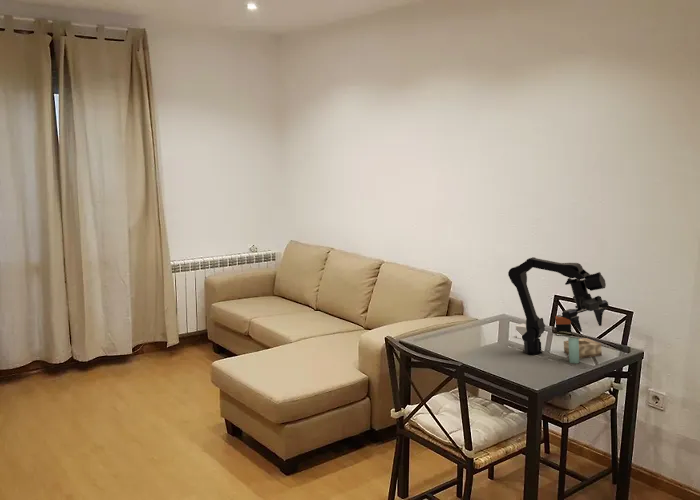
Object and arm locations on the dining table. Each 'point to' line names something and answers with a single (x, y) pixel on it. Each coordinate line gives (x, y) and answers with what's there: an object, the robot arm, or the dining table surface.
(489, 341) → the dining table surface
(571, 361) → the peg
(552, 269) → the robot arm
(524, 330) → the light grey cone
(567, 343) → the bore block
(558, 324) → the battery
